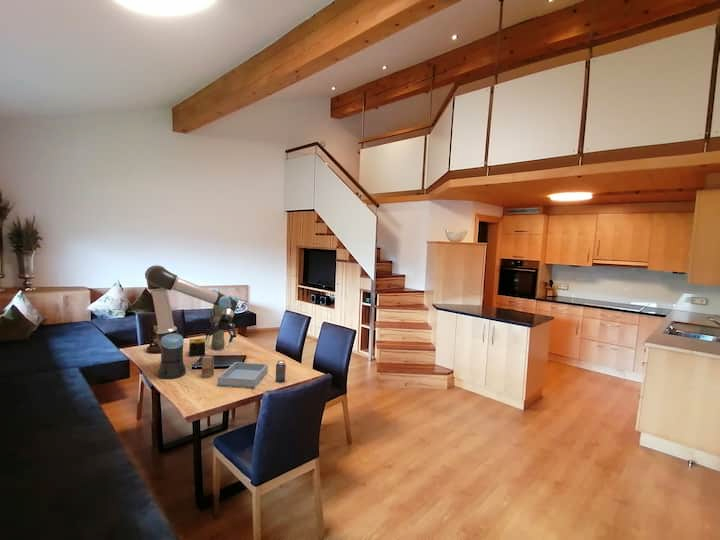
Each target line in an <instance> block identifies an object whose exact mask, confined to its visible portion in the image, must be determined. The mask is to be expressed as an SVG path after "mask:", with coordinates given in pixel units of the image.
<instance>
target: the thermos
mask: <svg viewBox="0 0 720 540" xmlns="http://www.w3.org/2000/svg"><path fill="white" fill-rule="evenodd" d="M212 306H213V307H212V308H211V309H210V311H209V323H211V326H212V325H213V323H214V322H215V323H219V320H220V317H221V314H222V312H223V309H224V308H221V307H219V306H217V305H214V304H213V305H212ZM217 326H218V325H217ZM215 328H216V327H215ZM215 328H214V329H215ZM218 328H219V327H218ZM211 336H212V338H211V345H210V346H211V350H212V351H223V350H224V349H225V337H224V336H225V330H219V331H217V332H215V333H214V334H213V335H211Z"/></svg>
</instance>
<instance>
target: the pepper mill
mask: <svg viewBox="0 0 720 540" xmlns="http://www.w3.org/2000/svg"><path fill="white" fill-rule="evenodd" d="M286 365H287V364H286V362H285V360H283V359H280V360H277V362H276V364H275V383H277V382H278V384H279V383H280V384H282V382H283V383H285V382H286V369H287V368H286Z"/></svg>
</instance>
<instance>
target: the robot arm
mask: <svg viewBox="0 0 720 540" xmlns="http://www.w3.org/2000/svg"><path fill="white" fill-rule="evenodd" d="M144 278H145V280H146V285H147V289H148V290H149V291H150V292H151V296H152V301H153V306H154V313H155V316H156V317H155V318H156V323H157V325H158V328H159V329H158V331H157V332H156V333H157V338H158V339H157V343H158V345H159V347H160V349H161V352H160V364H159V367H158V369H157V377H158V378H159V379H162V380H163V379H164V380H169V379H170V380H171V379H178V378H181V377H183V376H185V375H186V373H187V369H186V368H187V367H186V365H185V363H184V337H183V336H182V334H179V331H178V327H176V325H174V324H175V322H174V319H173V313H172V308H171V307H172V306H171V301H170V297H169V291H176V292H179V293H182V294H184V295H186V296H189V297H192V298H195V299H198V300H201V301H203V302H206V303H209V304H212V305H213V306H214V305H217V306H219V307H221V308H224V309H223V312H222V314H221V317H220V320H219V323H215V322H214V323H213V325H212V324H211V325H210V327H208V329H207V330H206V331H204V335H205V347H208V346H209V343H210V342H211V341H210V340H211V339H212V338H211V336H212V335H213V334H214V333H215V332H217V331H219V330H224V331H226V330H227V333H228V334H229V336H228V339H227V341H226V345H225V347H226V348H229V347H230V344H231V343H232V342H233V339H234V338H237V334H236V328H235V327H236V325H235V323H234V322H233V323H232V321H233V318H234V315H235V311H236V309H237V307H238V304H239V299H238V297H237V296H235V295H229V296H227V295H225V294H223V293H222V292H220V291H217V290H215V289H213V290H211V289H209V288H206V287H203V286H201V285H198V284H195V283H193V282H190V281H187V280H186V279H182V278H180V277H179V276H178V275H177V274H175V273H172V272H170V271H169V270H168V269H166V268H165V267H164V266H162V265H159V264H157V265H151V266H150V267H148V268H147V269H146V271H145V273H144ZM217 325H218V326H217ZM215 327H216V328H215ZM218 327H219V328H218ZM214 328H215V329H214ZM229 328H231V330H232V332H231V330H230V329H229Z"/></svg>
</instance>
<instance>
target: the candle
mask: <svg viewBox="0 0 720 540" xmlns="http://www.w3.org/2000/svg"><path fill="white" fill-rule="evenodd" d="M205 339H206V337H205V338H189V348H188V356H189V358H193V357H195V358H196V357H204V356H205V355H206V345H205V342H206V340H205Z"/></svg>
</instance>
